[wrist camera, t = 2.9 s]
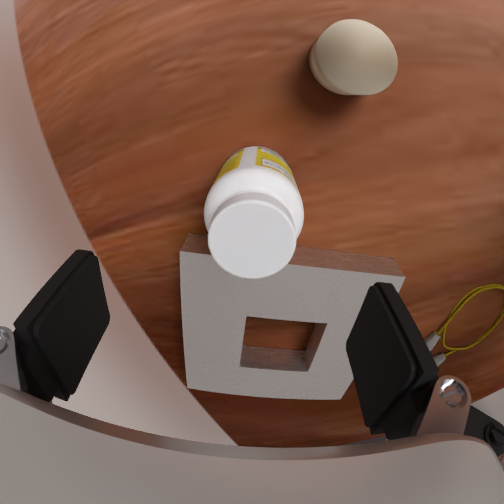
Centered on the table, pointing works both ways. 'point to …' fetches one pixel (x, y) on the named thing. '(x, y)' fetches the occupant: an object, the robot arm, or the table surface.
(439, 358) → the extension cord
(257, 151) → the supplement bottle
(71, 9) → the table surface
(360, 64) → the short stub
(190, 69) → the table surface
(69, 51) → the table surface
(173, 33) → the table surface
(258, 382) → the hole plate
